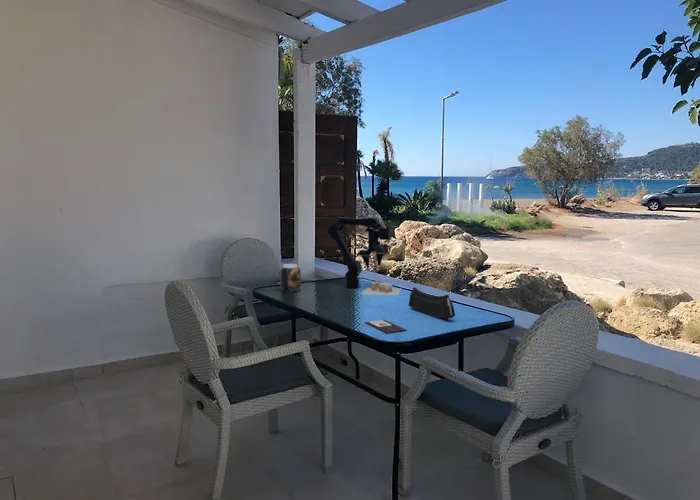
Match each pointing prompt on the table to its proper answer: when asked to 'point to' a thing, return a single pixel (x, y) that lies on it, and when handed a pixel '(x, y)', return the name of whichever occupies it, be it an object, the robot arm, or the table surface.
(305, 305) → the table surface
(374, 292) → the rubber mat
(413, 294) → the magazine
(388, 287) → the birch block
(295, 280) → the jar
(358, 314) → the table surface
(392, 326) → the chocolate bar
